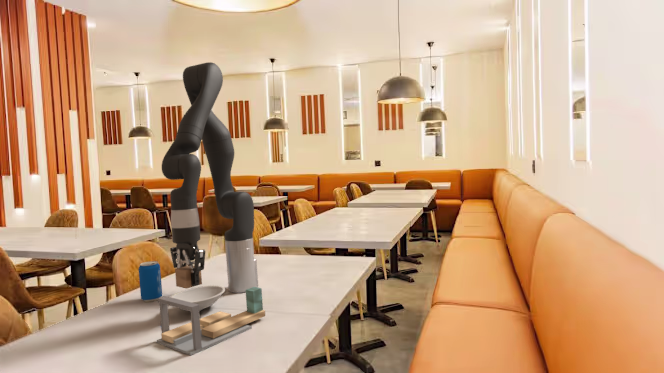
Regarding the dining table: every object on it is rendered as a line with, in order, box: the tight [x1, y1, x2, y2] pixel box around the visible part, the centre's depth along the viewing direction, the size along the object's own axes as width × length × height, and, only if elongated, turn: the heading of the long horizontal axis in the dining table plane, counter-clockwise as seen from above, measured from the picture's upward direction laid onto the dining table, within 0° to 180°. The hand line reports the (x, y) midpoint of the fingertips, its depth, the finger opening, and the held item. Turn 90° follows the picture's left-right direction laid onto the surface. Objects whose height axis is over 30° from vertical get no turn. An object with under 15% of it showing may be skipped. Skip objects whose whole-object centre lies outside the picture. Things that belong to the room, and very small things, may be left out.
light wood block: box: [200, 310, 232, 327], centre depth 114 cm, size 7×5×2 cm, turn 143°
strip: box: [201, 287, 266, 338], centre depth 111 cm, size 17×5×8 cm, turn 143°
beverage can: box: [138, 260, 163, 303], centre depth 141 cm, size 6×6×12 cm
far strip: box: [160, 322, 203, 343], centre depth 106 cm, size 8×5×2 cm, turn 143°
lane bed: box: [156, 295, 252, 356], centre depth 108 cm, size 18×14×11 cm
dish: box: [170, 284, 226, 312], centre depth 128 cm, size 18×14×5 cm
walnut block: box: [174, 265, 203, 290], centre depth 123 cm, size 5×5×5 cm
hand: (189, 284), depth 123 cm, fingers closed on walnut block, 5 cm apart
